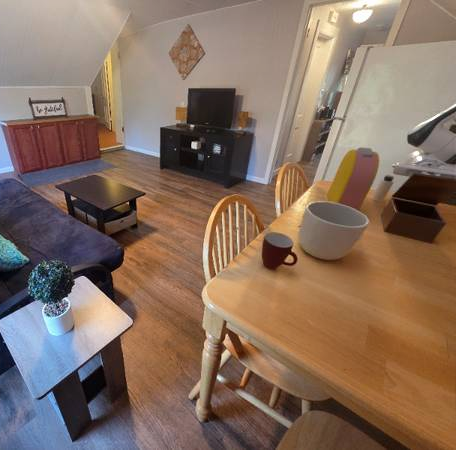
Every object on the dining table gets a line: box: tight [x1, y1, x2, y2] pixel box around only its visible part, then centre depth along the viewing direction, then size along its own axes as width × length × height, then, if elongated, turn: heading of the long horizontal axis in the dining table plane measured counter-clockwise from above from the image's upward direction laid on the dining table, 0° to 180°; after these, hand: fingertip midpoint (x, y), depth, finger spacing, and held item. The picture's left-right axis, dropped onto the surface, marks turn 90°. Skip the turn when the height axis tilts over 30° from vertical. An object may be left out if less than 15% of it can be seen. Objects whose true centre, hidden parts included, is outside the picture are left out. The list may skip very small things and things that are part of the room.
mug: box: [261, 231, 299, 270], centre depth 75 cm, size 11×8×10 cm
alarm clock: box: [327, 146, 380, 211], centre depth 108 cm, size 21×9×26 cm, turn 154°
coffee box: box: [380, 196, 447, 244], centre depth 96 cm, size 16×14×9 cm
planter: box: [298, 200, 370, 261], centre depth 81 cm, size 17×17×15 cm
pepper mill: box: [370, 174, 395, 203], centre depth 117 cm, size 5×5×12 cm
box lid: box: [391, 173, 456, 207], centre depth 91 cm, size 16×14×1 cm
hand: (432, 178), depth 89 cm, fingers closed
